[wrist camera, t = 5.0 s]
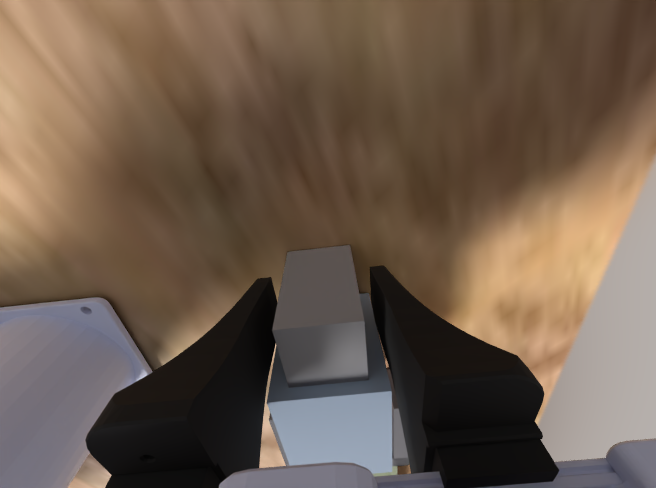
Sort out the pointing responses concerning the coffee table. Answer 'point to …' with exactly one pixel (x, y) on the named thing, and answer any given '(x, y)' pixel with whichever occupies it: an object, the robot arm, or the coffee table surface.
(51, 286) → the coffee table surface
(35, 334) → the robot arm
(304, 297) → the stepped two-tone block
